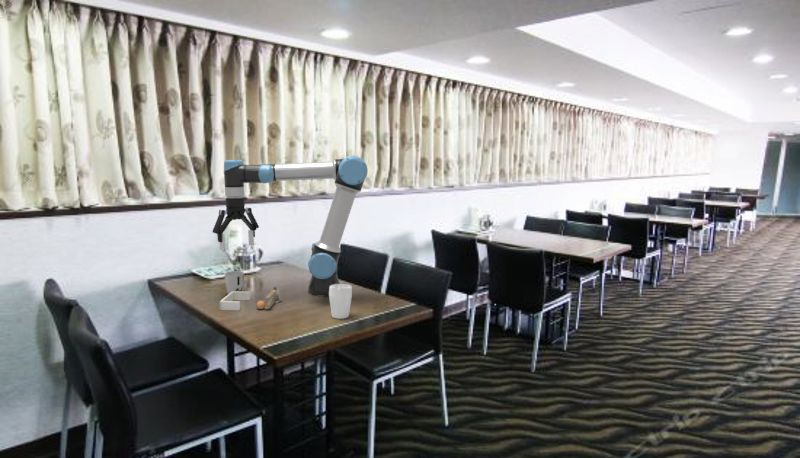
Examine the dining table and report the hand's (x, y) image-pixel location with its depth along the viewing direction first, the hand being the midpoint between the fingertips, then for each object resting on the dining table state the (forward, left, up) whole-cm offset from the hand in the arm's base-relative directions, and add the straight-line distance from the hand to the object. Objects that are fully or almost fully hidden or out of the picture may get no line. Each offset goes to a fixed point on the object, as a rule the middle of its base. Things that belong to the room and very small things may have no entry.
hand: (237, 247), depth 195 cm
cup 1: (+4, -8, -24) cm, 25 cm away
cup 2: (-46, +18, -24) cm, 54 cm away
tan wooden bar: (-16, +5, -22) cm, 28 cm away
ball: (-13, +11, -22) cm, 27 cm away
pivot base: (-16, 0, -23) cm, 28 cm away
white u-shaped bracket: (-1, +6, -23) cm, 24 cm away
